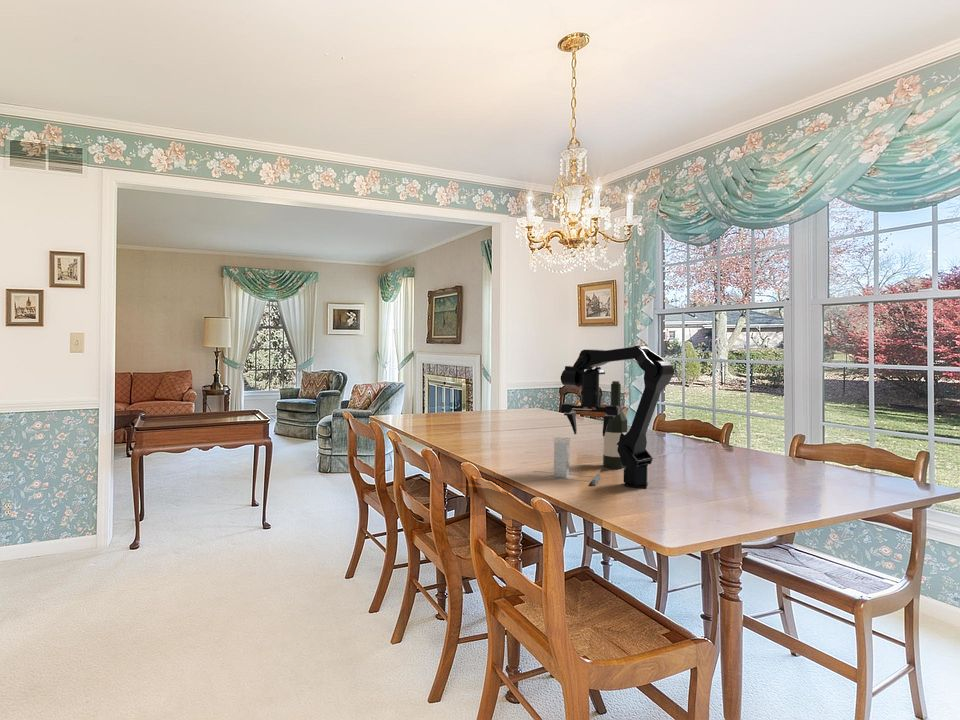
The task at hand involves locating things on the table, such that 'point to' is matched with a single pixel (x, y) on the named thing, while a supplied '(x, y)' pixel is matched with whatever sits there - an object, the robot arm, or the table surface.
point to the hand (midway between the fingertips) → (589, 435)
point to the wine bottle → (614, 431)
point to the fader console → (593, 482)
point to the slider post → (561, 457)
